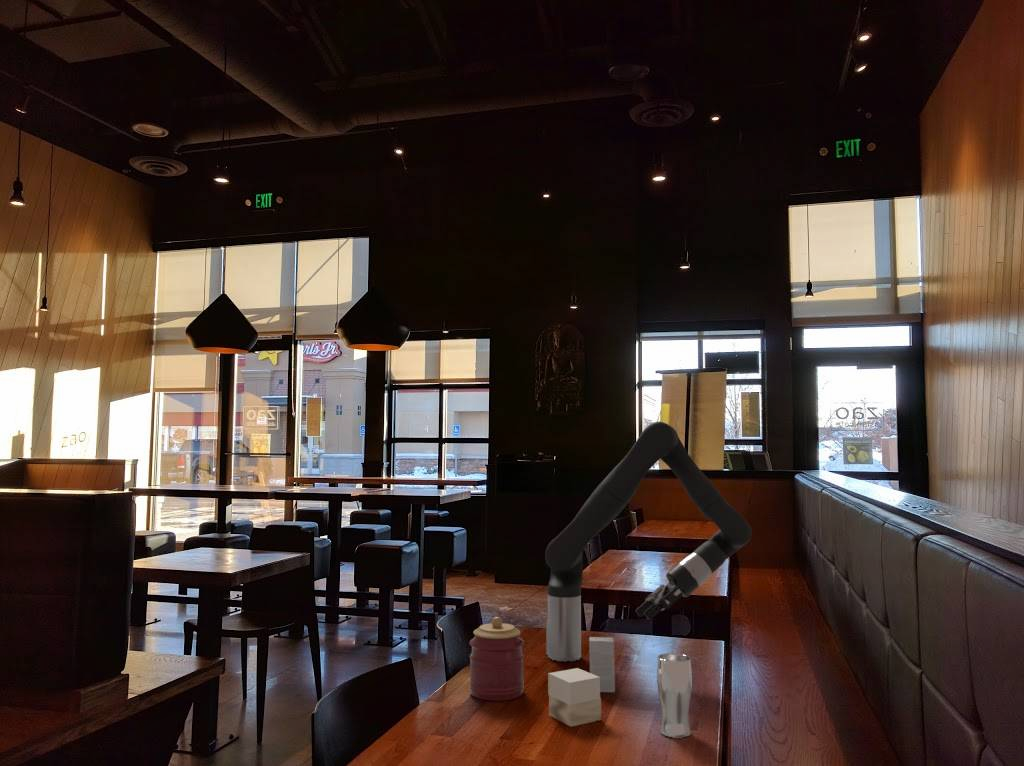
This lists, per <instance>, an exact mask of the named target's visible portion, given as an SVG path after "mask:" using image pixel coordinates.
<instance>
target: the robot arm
mask: <svg viewBox="0 0 1024 766" xmlns="http://www.w3.org/2000/svg"><path fill="white" fill-rule="evenodd" d="M660 460H661V461H662V462H663V463H664V464H666V465H667V467H668V468H669V469H670V470H671V471H672V473H673V474H674V475H675V476H676V478H677V479H678V480H679V482H680V484H681V486H682V488H683V489H684V490H685V492H686V493H687V496H689V498H690V499H691V501H692V502H693V503H694V505H695V506H696V507H697V509H698V510H699V511H700V513H702V515H703V516H704V518H706V519H707V520H708V521H712V522H713V523H714V524H715V525H716V527H718V531H716V533H715V534H713V536H711V537H710V538H709V539H708V540H706V541H705V542H704V543H702V544H701V545H699V546H698V547H697V548H695V550H693V552H691V553H690V554H688V555H686V556H685V557H684V558H683V559H682V560H680V561H679V562H678V563H677V564H676V565H675V566H674V567H673V568H671V569H670V570H669V571H668V572H666V579H667V581H668V583H667V584H662V583H661V584H660V585H659V586H658V587H656V589H655V590H653V591H652V592H651V593H650V594H649V595H647V596H646V597H645V601H644V602H643V603H642V604H641V605H640V606H639V607H637V608H636V609H635V613H636V614H637V615H638V617H640V618H643V617H644V616H645V617H646V618H647V620H652V619H653V618H654V617H655V616H656V615H658V613H660V612H662V611H664V610H668V609H669V608H670V607H671V606H672V605H673V604H675V602H677V601H678V600H679V599H680V598H681V597H684V598H687V597H689V596H690V595H691V594H693V592H695V590H697V589H699V587H700V586H702V585H703V584H704V583H705V582H706V581H707V580H708V579H709V578H710V576H711V575H712V574H713V573H715V572H716V571H717V570H718V569H719V568H720V567H721V566H722V565H723V564H724V563H725V561H727V559H729V558H730V557H731V556H732V555H734V554H735V553H737V552H738V551H739V550H740V549H741V548H743V547H744V546H745V545H746V544H748V543H749V542H750V540H751V539H752V532H753V531H752V527H751V526H750V524H749V523H748V520H746V518H745V517H744V516H743V515H741V513H740V512H738V511H737V510H736V509H735V508H734V507H733V506H732V505H730V503H728V502H727V501H726V499H725V498H724V497H723V495H722V494H721V492H720V491H719V490H718V489H717V487H716V486H715V485H714V484H713V483H712V482H711V480H710V479H709V478H708V477H707V475H705V474H704V472H703V471H702V470H701V469H700V468H699V467H698V465H697V464H696V462H695V461H694V460H693V459H692V457H691V455H690V454H689V452H688V451H687V449H686V447H685V445H684V444H683V442H682V440H681V439H680V437H679V435H678V432H677V430H676V429H675V428H674V427H673V426H671V425H669V424H668V423H666V422H663V421H655V422H652V423H650V424H648V425H647V426H646V427H645V428H644V429H643V430H642V432H641V434H640V435H639V437H638V438H637V440H635V443H634V444H633V445H632V447H631V448H630V449H629V451H628V452H627V454H626V455H625V456H624V457H623V459H622V460H621V461H620V462H619V463H618V464H617V465H616V466H615V467H614V468H613V469H612V470H611V471H610V473H608V475H606V477H604V479H603V480H602V481H601V482H600V483H599V485H598V486H596V488H595V489H594V490H593V491H592V493H591V494H590V496H589V497H588V499H587V500H586V501H585V502H584V504H583V505H582V506H581V508H580V509H579V510H578V513H577V514H576V515H575V517H574V518H573V519H572V521H571V522H570V523H569V524H568V525H567V526H566V527H565V528H564V529H563V530H562V531H561V532H560V533H559V534H558V535H557V536H556V537H555V538H553V539H552V540H551V541H550V542H549V543H548V545H547V547H546V548H545V553H544V554H545V555H544V557H545V562H546V565H547V566H548V567H549V568H550V578H549V581H548V585H547V620H546V625H545V627H546V629H545V630H546V631H545V632H546V635H545V636H546V638H545V640H546V641H545V647H546V649H545V653H546V654H547V655H548V656H547V655H546V656H547V658H548V657H549V658H550V659H549V658H548V659H549V660H551V659H552V660H551V661H554V660H556V662H562V661H563V662H564V663H565V662H566V663H567V661H570V662H575V661H576V660H577V661H579V660H581V659H582V600H581V599H582V595H581V594H582V585H583V569H584V568H583V565H584V564H583V563H584V558H583V551H584V550H585V549H586V547H587V546H588V544H589V543H590V542H591V541H592V540H593V538H594V537H596V535H599V533H600V532H601V531H602V530H604V529H605V528H606V527H607V526H608V525H610V524H611V522H612V521H614V519H616V518H617V517H618V516H619V514H620V513H622V511H623V510H624V509H625V507H627V505H628V504H629V503H630V501H631V500H632V498H633V497H634V496H635V494H636V492H637V490H638V489H639V486H640V484H641V483H642V481H643V479H644V477H645V476H646V475H647V473H648V472H649V470H650V469H652V468H653V466H655V465H656V464H657V462H658V461H660ZM580 658H581V659H580ZM563 662H562V663H563Z"/></svg>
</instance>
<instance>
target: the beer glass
mask: <svg viewBox="0 0 1024 766" xmlns="http://www.w3.org/2000/svg"><path fill="white" fill-rule="evenodd" d="M691 663H692V662H691V657H690V656H688V655H685V654H682V653H669V652H668V653H661V654H659V655H657V666H656V667H657V669H656V682H657V683H656V684H657V691H658V696H659V702H660V707H661V723H660V729H659V732H661V733H660V734H661V735H662V734H663V735H662V736H664V735H665V737H666V736H668V737H667V738H669V737H674V738H673V739H676V737H677V738H679V737H686V736H689V735H690V736H691V727H690V721H689V711H690V710H689V709H690V702H691V697H692V689H693V688H692V687H693V675H692V674H693V673H692V664H691ZM690 736H689V737H690Z"/></svg>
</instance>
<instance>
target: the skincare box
mask: <svg viewBox="0 0 1024 766" xmlns="http://www.w3.org/2000/svg"><path fill="white" fill-rule="evenodd" d="M588 643H589V644H588V645H589V647H588V648H589V652H588V653H589V654H588V655H589V673H591V674H594V675H596V676H599V677H600V693H615V692H616V675H615V674H616V671H615V670H616V669H615V667H616V665H615V640H614V637H605V636H604V637H603V636H589V638H588Z"/></svg>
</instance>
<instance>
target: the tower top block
mask: <svg viewBox="0 0 1024 766" xmlns="http://www.w3.org/2000/svg"><path fill="white" fill-rule="evenodd" d="M547 693H548V694H547V695H548V696H549V695H550V696H552V697H554V698H556V699H558V700H560V701H562V702H565V703H567V704H569V705H572V704H577V703H582V702H587V701H592V700H596V699H601V692H600V677H599V676H596V675H594V674H591V673H590V671H589V672H588V671H586V670H583V669H580V668H579V667H576V668H569V669H565V670H559V671H558V670H557V671H553V672H548V673H547Z"/></svg>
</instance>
